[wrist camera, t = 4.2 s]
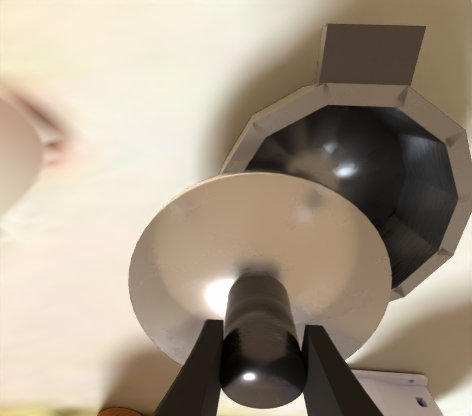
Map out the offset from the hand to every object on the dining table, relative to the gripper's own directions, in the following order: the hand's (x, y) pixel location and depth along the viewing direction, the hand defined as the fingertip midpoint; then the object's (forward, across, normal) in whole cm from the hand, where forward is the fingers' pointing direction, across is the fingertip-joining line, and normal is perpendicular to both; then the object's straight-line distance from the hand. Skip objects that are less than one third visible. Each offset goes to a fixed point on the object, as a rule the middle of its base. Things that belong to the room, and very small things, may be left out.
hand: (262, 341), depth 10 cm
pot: (+9, -4, -3) cm, 11 cm away
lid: (+4, 0, 0) cm, 4 cm away
